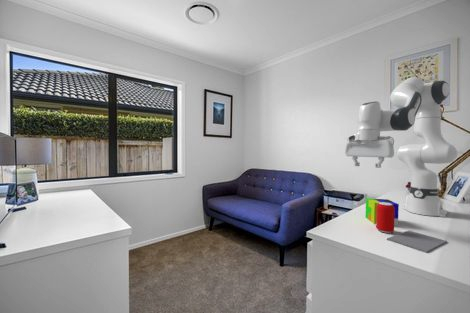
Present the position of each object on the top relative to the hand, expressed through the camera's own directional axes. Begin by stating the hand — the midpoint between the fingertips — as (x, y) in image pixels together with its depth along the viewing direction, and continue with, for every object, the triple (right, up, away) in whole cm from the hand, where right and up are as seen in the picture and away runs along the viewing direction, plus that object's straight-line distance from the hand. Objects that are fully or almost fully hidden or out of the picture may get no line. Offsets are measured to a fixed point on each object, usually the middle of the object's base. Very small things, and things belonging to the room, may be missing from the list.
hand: (367, 166), depth 98 cm
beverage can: (+3, -27, -7) cm, 29 cm away
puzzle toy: (+10, -27, +6) cm, 30 cm away
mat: (+8, -28, -17) cm, 33 cm away
